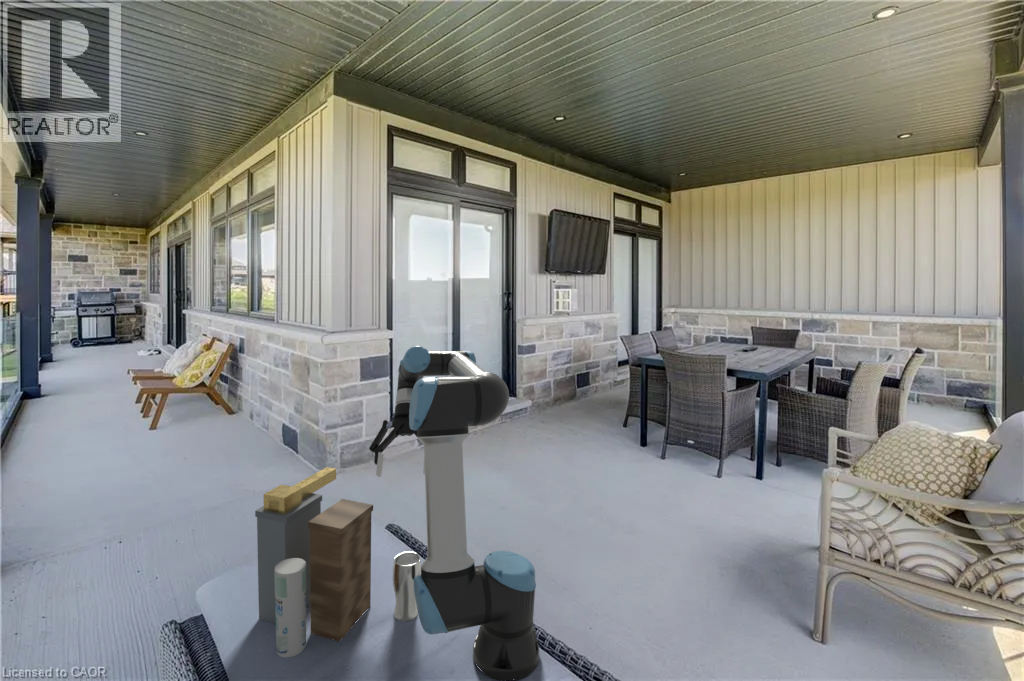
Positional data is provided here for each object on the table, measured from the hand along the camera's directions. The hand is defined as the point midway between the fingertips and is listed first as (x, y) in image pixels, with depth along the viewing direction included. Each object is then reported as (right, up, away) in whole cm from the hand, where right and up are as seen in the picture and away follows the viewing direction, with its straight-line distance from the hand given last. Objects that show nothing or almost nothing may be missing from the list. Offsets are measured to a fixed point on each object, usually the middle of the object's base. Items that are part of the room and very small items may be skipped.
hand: (402, 475), depth 144 cm
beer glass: (+5, -31, -17) cm, 36 cm away
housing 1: (-25, -29, -16) cm, 42 cm away
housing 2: (-11, -31, -20) cm, 38 cm away
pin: (-22, -1, -14) cm, 26 cm away
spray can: (-19, -32, -30) cm, 47 cm away
